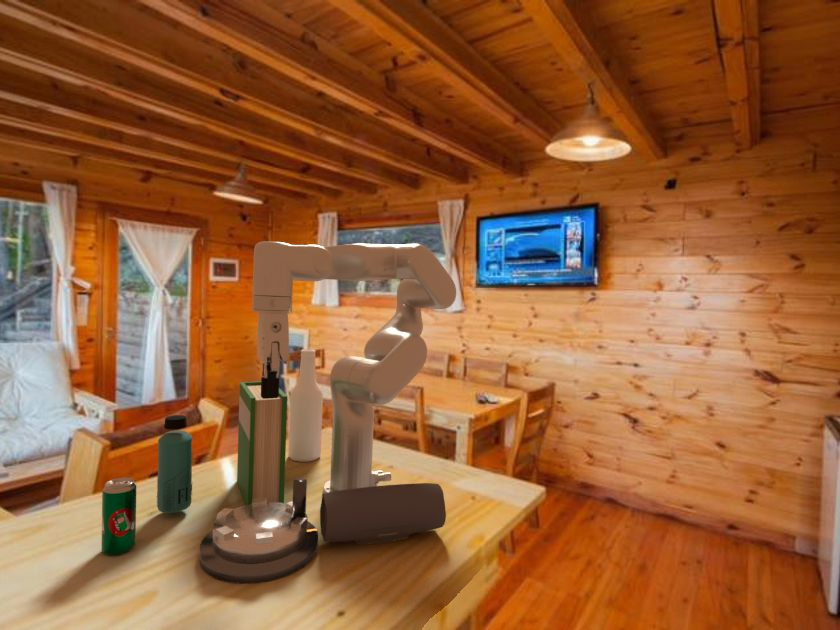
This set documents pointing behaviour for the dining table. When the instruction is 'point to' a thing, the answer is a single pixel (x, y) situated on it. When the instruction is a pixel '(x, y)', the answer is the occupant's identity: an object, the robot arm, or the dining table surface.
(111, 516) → the soda can
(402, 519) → the bluetooth speaker
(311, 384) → the white bottle
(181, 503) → the beverage bottle
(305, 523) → the brown round knobbed piece
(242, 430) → the hardback book
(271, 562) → the dark brown round plate
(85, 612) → the dining table surface
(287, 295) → the robot arm
